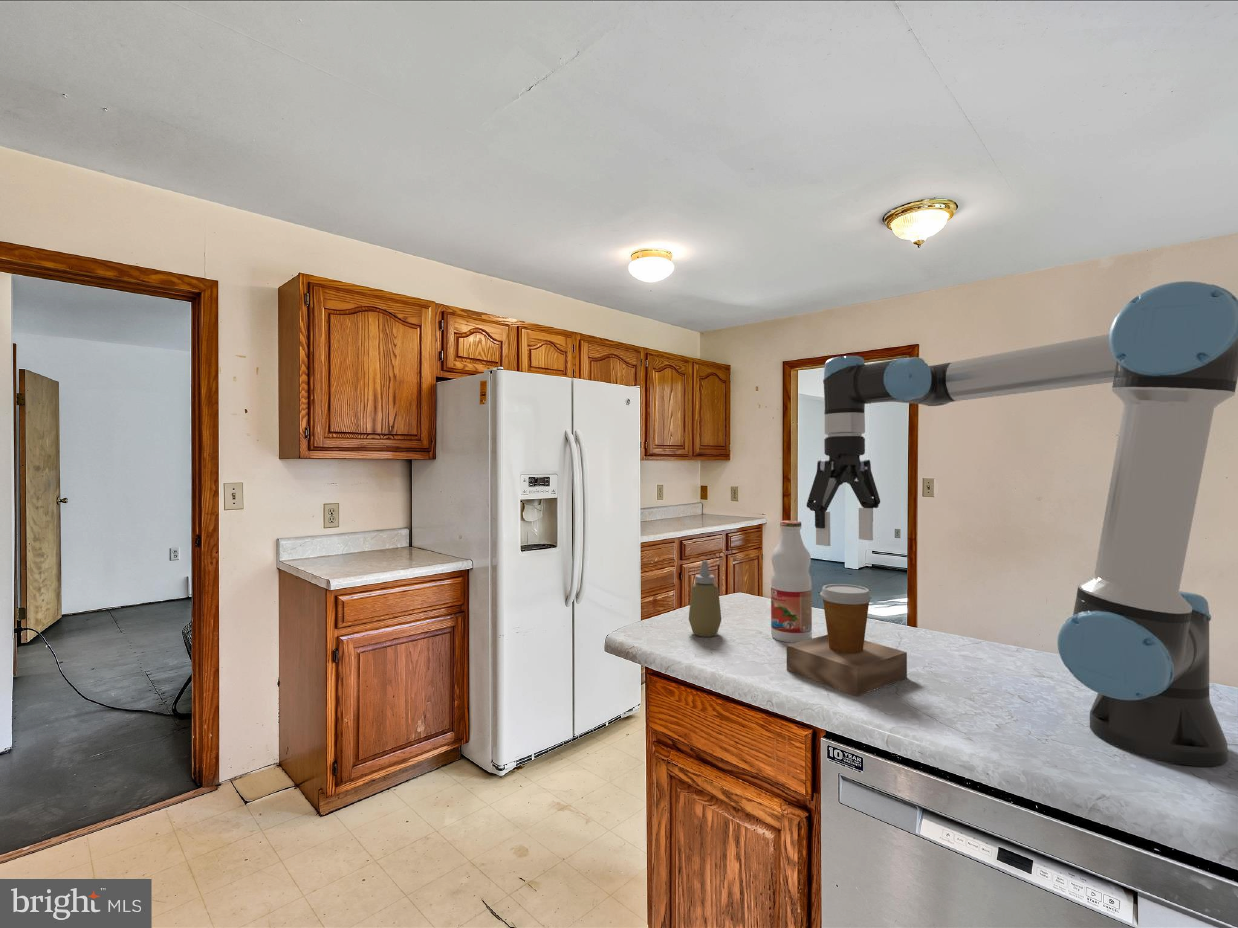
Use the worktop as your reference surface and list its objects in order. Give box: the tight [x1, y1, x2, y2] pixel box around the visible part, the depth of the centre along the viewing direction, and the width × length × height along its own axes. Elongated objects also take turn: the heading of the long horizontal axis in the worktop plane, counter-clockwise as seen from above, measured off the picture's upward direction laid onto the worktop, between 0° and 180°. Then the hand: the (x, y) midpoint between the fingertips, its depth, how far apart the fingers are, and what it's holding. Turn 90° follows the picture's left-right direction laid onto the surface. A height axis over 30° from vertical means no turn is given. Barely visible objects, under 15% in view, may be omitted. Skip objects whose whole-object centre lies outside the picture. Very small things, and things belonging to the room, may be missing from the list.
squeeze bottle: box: [688, 560, 722, 638], centre depth 142 cm, size 8×8×18 cm
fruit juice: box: [770, 520, 813, 644], centre depth 139 cm, size 9×9×28 cm
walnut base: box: [786, 634, 908, 697], centre depth 115 cm, size 16×16×5 cm
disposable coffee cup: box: [819, 583, 873, 654], centre depth 115 cm, size 10×10×12 cm
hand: (845, 542), depth 115 cm, fingers open, 13 cm apart
